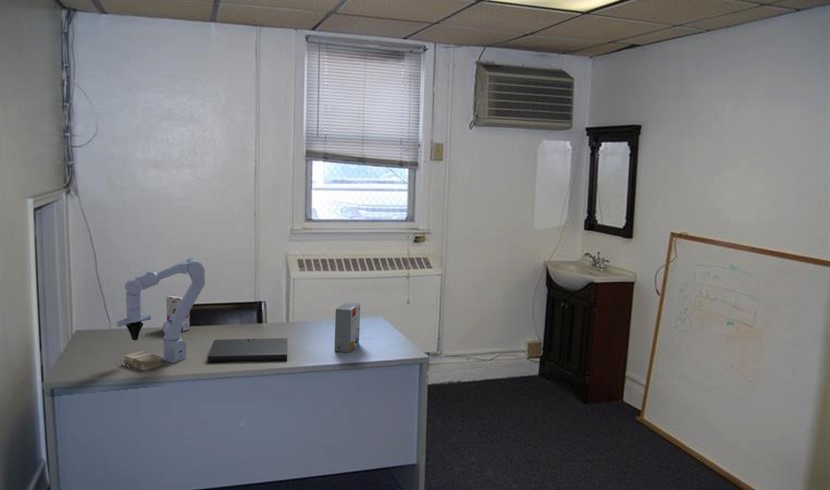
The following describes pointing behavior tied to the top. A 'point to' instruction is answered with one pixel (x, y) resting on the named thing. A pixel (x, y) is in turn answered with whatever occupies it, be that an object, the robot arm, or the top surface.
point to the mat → (143, 370)
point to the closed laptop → (248, 350)
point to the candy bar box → (171, 308)
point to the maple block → (143, 360)
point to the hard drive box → (347, 327)
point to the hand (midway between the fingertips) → (134, 339)
